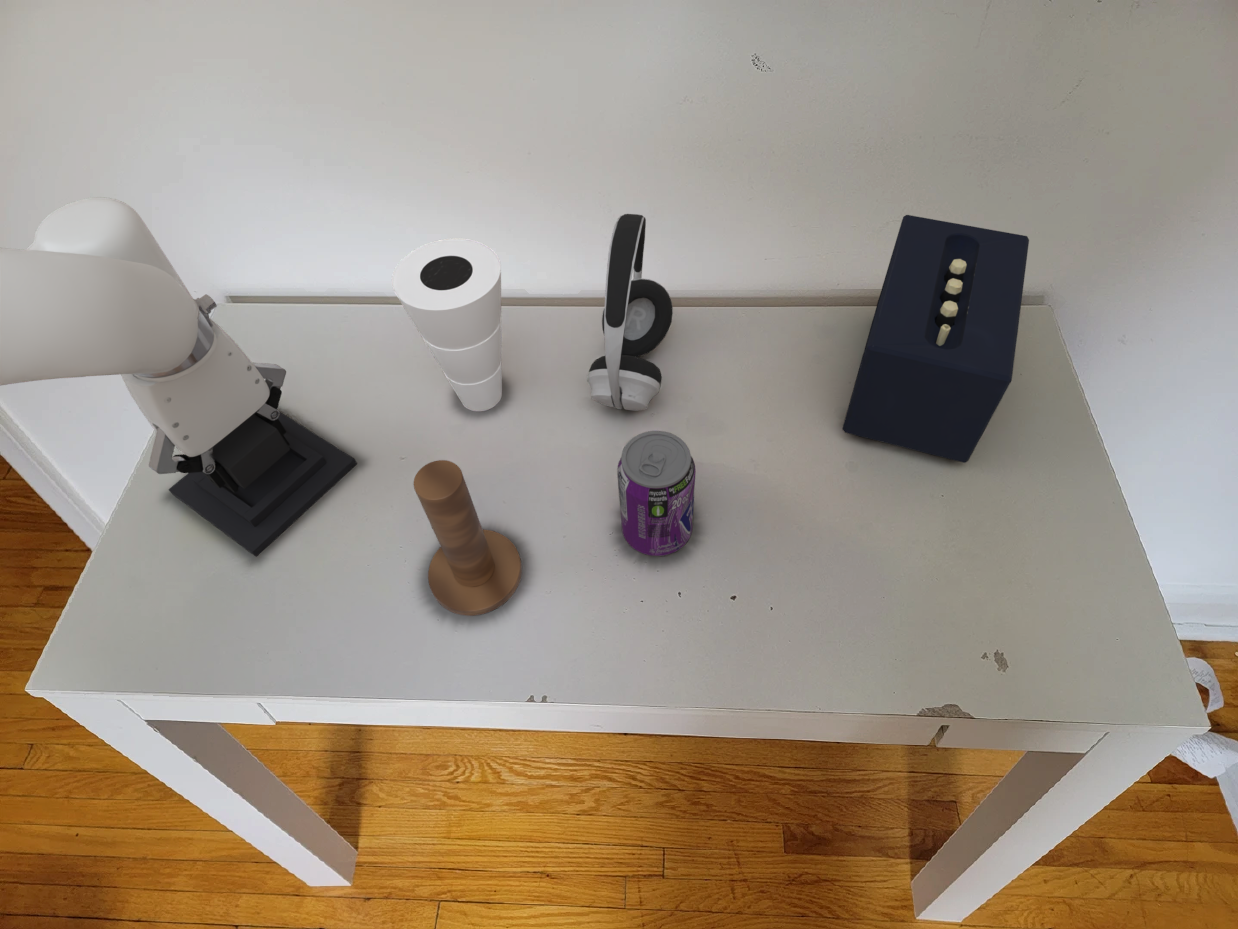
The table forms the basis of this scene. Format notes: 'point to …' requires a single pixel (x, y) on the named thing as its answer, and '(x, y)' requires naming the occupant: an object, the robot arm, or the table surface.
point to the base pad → (269, 490)
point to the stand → (464, 546)
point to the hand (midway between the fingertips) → (253, 461)
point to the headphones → (629, 323)
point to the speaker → (940, 338)
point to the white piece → (457, 313)
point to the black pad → (250, 450)
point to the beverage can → (656, 492)
